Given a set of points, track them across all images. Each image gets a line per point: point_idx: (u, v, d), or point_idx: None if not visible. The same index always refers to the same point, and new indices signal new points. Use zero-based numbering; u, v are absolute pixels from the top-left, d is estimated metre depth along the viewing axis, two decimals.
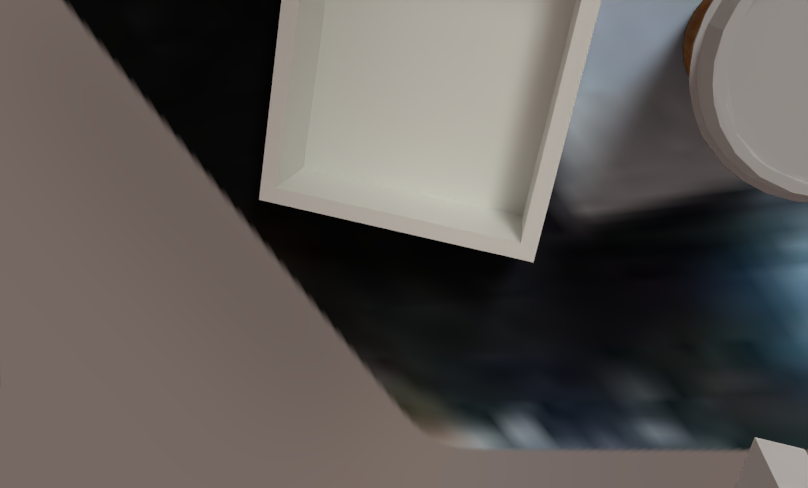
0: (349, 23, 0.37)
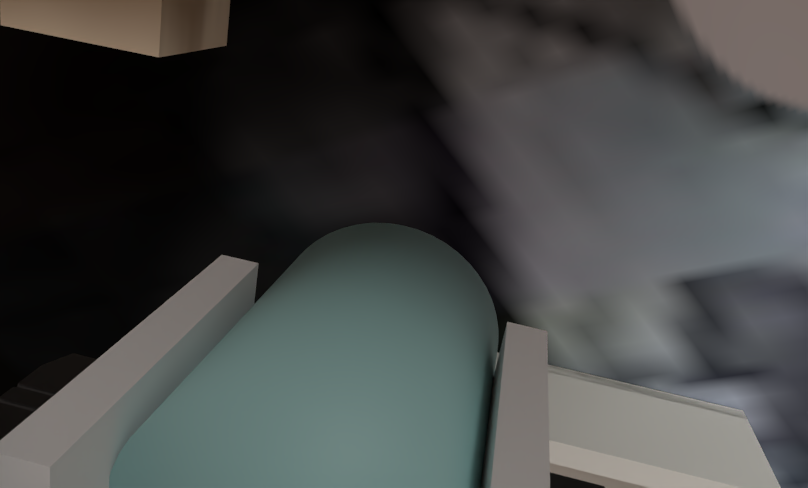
0: None
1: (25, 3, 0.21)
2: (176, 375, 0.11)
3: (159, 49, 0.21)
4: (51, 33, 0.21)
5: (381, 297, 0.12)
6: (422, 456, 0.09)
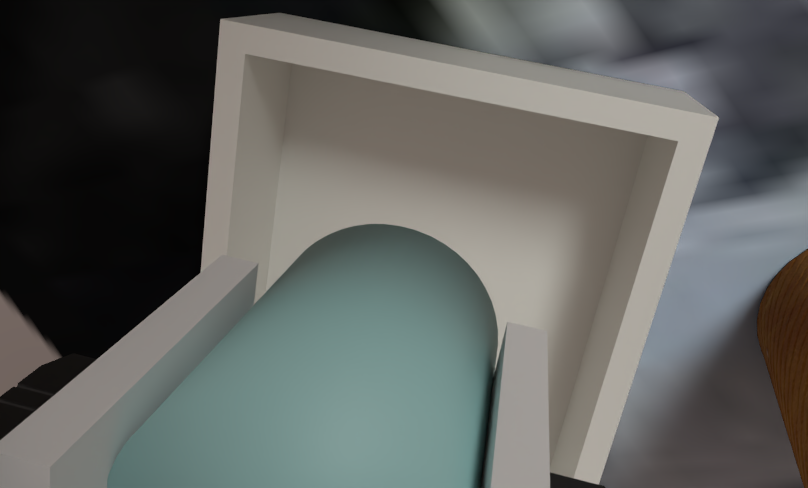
0: None
1: None
2: (176, 374, 0.11)
3: None
4: None
5: (380, 298, 0.12)
6: (421, 460, 0.09)
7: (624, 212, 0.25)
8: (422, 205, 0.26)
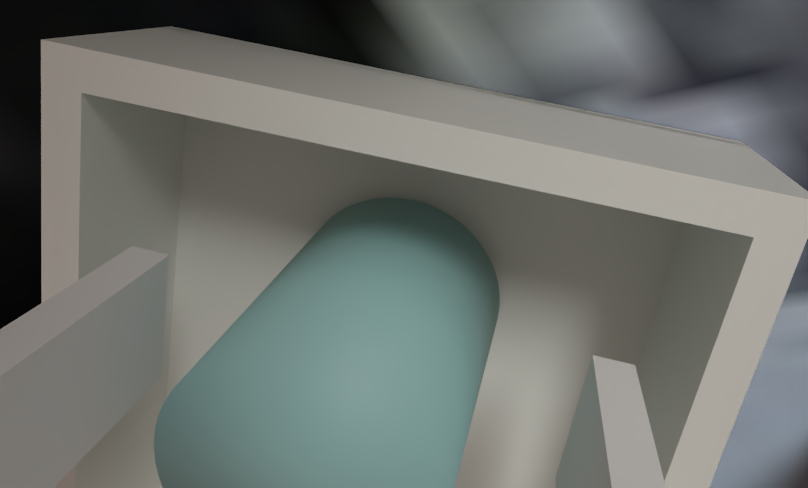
0: None
1: None
2: (60, 367, 0.11)
3: None
4: None
5: (384, 271, 0.14)
6: (405, 411, 0.11)
7: (654, 309, 0.17)
8: None
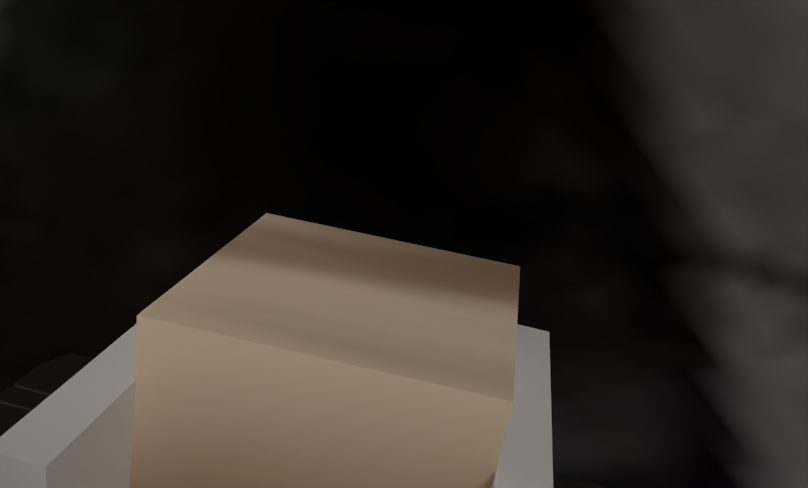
0: None
1: None
2: None
3: None
4: None
5: None
6: None
7: None
8: None
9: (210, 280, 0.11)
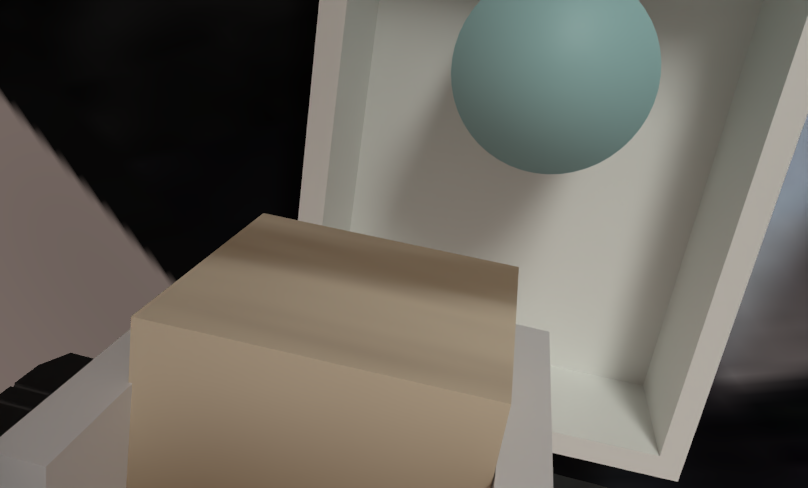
0: (400, 134, 0.26)
1: None
2: None
3: None
4: None
5: None
6: None
7: (747, 47, 0.23)
8: None
9: (206, 281, 0.11)
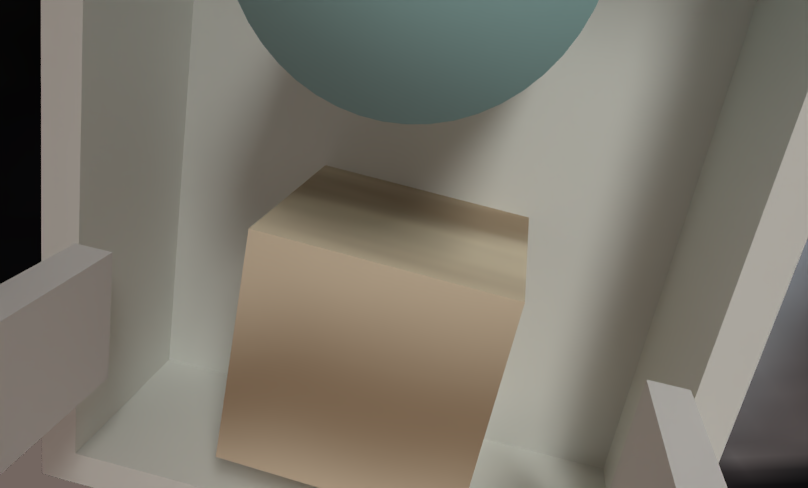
0: (242, 86, 0.17)
1: (258, 436, 0.14)
2: None
3: None
4: (293, 478, 0.15)
5: None
6: None
7: None
8: None
9: (294, 209, 0.14)
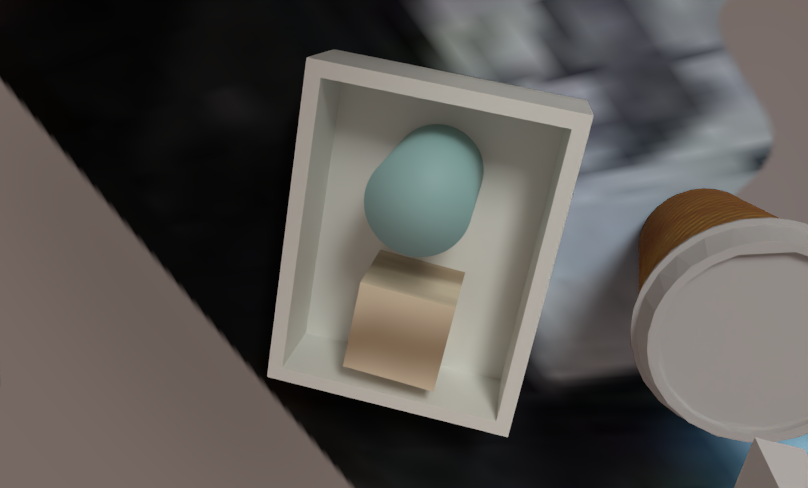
0: (346, 217, 0.42)
1: (359, 357, 0.39)
2: None
3: (434, 387, 0.39)
4: (372, 373, 0.39)
5: (442, 139, 0.35)
6: (459, 170, 0.33)
7: (552, 176, 0.39)
8: None
9: (373, 273, 0.39)
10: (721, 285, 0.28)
